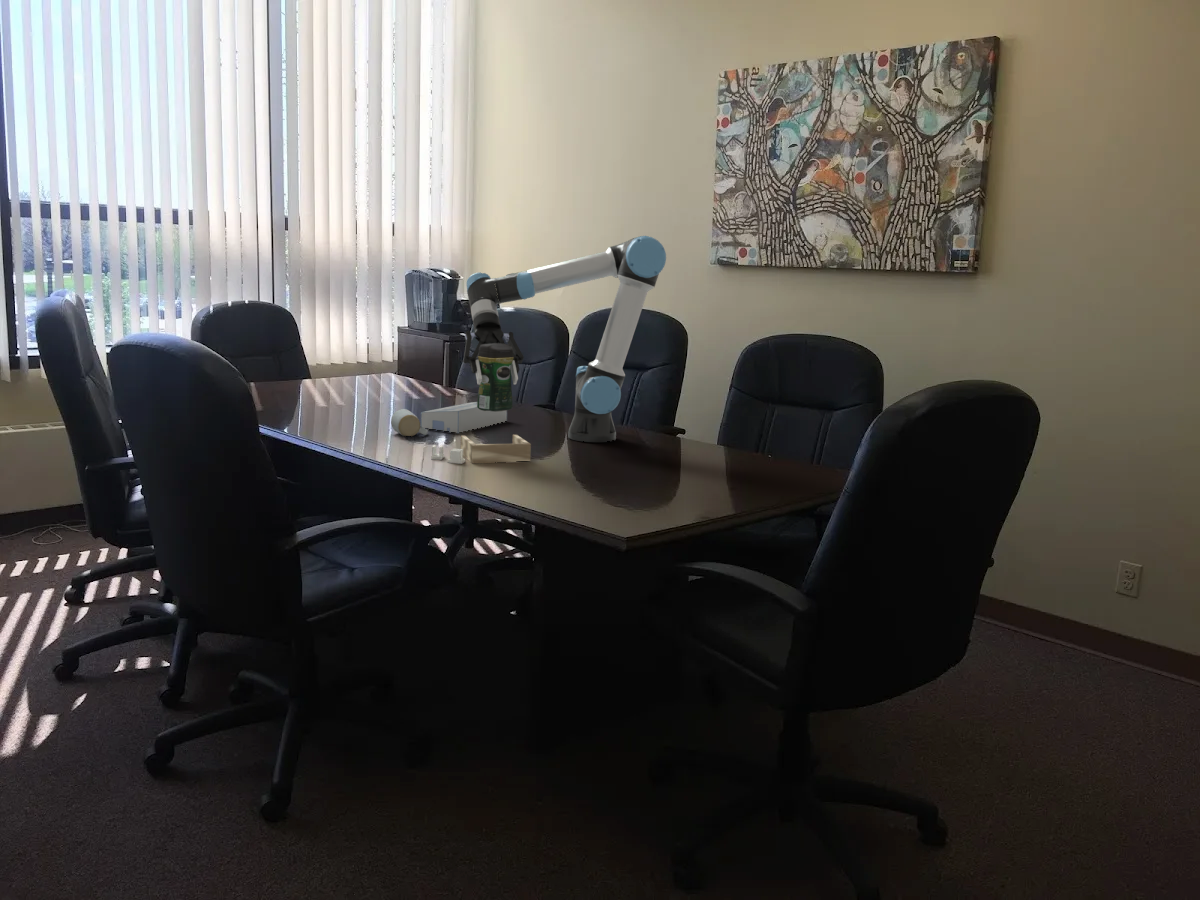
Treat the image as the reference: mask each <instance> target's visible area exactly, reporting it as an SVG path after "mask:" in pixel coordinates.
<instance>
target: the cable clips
mask: <svg viewBox="0 0 1200 900" xmlns="http://www.w3.org/2000/svg"><path fill="white" fill-rule="evenodd" d="M444 448H445V447H444V444H441V445H440V446H439V447H438V449H439V451H438V452H439V453H437V444H433V445H431V458H430V459H431V460H435V461H436V460H437V461H438V460H439V461H442V460H443V459H444V456H445V454H444ZM465 462H466V459H465V458H464V456H463V449H461V448H452V449H450V450H449V458H448V459H447V463H449V464H459V465H461V464H464V463H465Z"/></svg>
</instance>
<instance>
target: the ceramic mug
mask: <svg viewBox="0 0 1200 900" xmlns="http://www.w3.org/2000/svg"><path fill="white" fill-rule="evenodd" d="M390 424H391V427H392V429H393V430H394V431H395V432H396V433H398V434H399V435H401V436H402V437H406V436H411V437H414V436H416V435H417V434H418V433H419V434H422V435H424V436H427V435H428V433H429V429H425V428H423V427H421V420H420V419H419V418H418V416H417V415H415V413H413V412H412V411H410V410H408V409H407V408H401V409H398V410H396V411H395V412H394V413H393V414H392V416H391V418H390Z"/></svg>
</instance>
